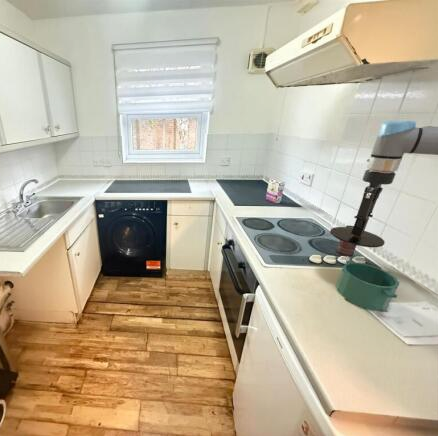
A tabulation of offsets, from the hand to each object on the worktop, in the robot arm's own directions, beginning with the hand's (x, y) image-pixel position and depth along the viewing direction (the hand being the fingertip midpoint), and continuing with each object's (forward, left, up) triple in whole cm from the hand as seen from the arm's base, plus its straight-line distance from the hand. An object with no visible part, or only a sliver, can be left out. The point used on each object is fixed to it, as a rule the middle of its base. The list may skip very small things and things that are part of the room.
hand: (357, 233), depth 88 cm
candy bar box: (-10, -98, -20) cm, 100 cm away
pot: (-1, +10, -20) cm, 23 cm away
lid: (0, 0, -1) cm, 1 cm away
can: (-14, -20, -20) cm, 32 cm away
